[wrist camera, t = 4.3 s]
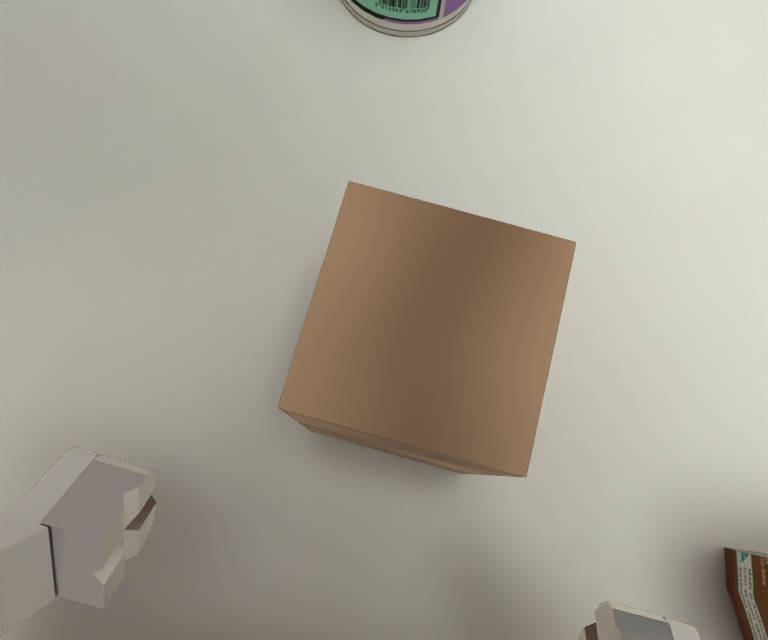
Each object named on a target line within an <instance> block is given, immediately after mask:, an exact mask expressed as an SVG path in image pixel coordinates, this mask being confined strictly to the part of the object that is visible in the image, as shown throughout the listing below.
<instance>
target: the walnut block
mask: <svg viewBox="0 0 768 640" xmlns="http://www.w3.org/2000/svg"><path fill="white" fill-rule="evenodd" d="M575 246H576V242H574V241H570V240H566V239H563V238H559V237H555V236H552V235H548V234H544V233H540V232H537V231H533V230H529V229H526V228H522V227H518V226H514V225H511V224H507V223H503V222H499V221H496V220H492V219H488V218H485V217H481V216H477V215H473V214H470V213H466V212H462V211H459V210H455V209H451V208H447V207H444V206H440V205H436V204H433V203H429V202H425V201H421V200H418V199H414V198H410V197H407V196H403V195H399V194H395V193H392V192H388V191H384V190H380V189H377V188H373V187H369V186H366V185H362V184H358V183H354V182H351V181H349V182H348V185H347V189H346V192H345V195H344V198H343V201H342V204H341V208H340V211H339V214H338V217H337V220H336V224H335V227H334V230H333V233H332V236H331V240H330V243H329V246H328V249H327V252H326V255H325V259H324V262H323V265H322V268H321V271H320V275H319V278H318V281H317V284H316V287H315V290H314V294H313V297H312V300H311V303H310V306H309V310H308V313H307V316H306V319H305V322H304V326H303V329H302V332H301V335H300V338H299V341H298V345H297V348H296V351H295V354H294V357H293V361H292V364H291V367H290V370H289V373H288V376H287V380H286V383H285V386H284V389H283V392H282V396H281V399H280V402H279V405H278V408H279V409H281V410H282V411H283V412H285V413H286V414H288V415H289V416H290V417H292V418H293V419H295V420H296V421H298V422H299V423H300V424H302V425H303V426H305V427H306V428H307V429H309V430H310V431H313V432H317V433H320V434H324V435H327V436H331V437H334V438H338V439H341V440H345V441H348V442H352V443H356V444H359V445H363V446H366V447H370V448H373V449H377V450H380V451H384V452H388V453H391V454H395V455H398V456H402V457H405V458H409V459H412V460H416V461H419V462H423V463H427V464H430V465H434V466H437V467H441V468H444V469H448V470H451V471H455V472H459V473H463V474H480V475H496V476H513V477H526V476H527V471H528V466H529V462H530V457H531V452H532V448H533V443H534V438H535V434H536V429H537V424H538V420H539V415H540V410H541V405H542V401H543V396H544V391H545V387H546V382H547V377H548V373H549V368H550V363H551V359H552V354H553V349H554V344H555V340H556V335H557V330H558V326H559V321H560V316H561V312H562V307H563V302H564V298H565V293H566V288H567V283H568V279H569V274H570V269H571V265H572V260H573V255H574V251H575Z"/></svg>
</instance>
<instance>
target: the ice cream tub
mask: <svg viewBox="0 0 768 640" xmlns="http://www.w3.org/2000/svg"><path fill="white" fill-rule="evenodd" d="M724 551H725V567H726V584H727V589H728V592H729V596H730V599H731V602H732V605H733V608H734V611H735V615H736V618H737V621H738V624H739V627H740V630H741V633H742V637H743V640H768V554H764V553H757V552H751V551H745V550H738V549H732V548H725V547H724Z"/></svg>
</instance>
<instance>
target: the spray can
mask: <svg viewBox="0 0 768 640" xmlns="http://www.w3.org/2000/svg"><path fill="white" fill-rule="evenodd" d="M342 1H343V2H344V4H345V6H346V7H347V8H348V9H349V11H350V12H351V13H352V14H353V15H354V16H355V17H356V18H357V19H359V20H360V21H361V22H362V23H364V24H365V25H367V26H369V27H371V28H373V29H375V30H377V31H380V32H383V33H386V34H389V35H396V36H402V37H409V36H421V35H426V34H431V33H434V32H436V31H439V30H441V29H444V28H445V27H447V26H448V25H450V24H452V23H453V22H455V21H456V20H457V19H458V18H459V17H460V16H461V15H462V14H463V13H464V12H465V10H466V9H467V7H468V6H469V4H470V2H471V0H342Z"/></svg>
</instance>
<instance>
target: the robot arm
mask: <svg viewBox="0 0 768 640" xmlns="http://www.w3.org/2000/svg"><path fill="white" fill-rule="evenodd" d="M156 486H157V472H154V471H151V470H148V469H145V468H142V467H139V466H136V465H132V464H129V463H126V462H123V461H120V460H117V459H114V458H110V457H107V456H104V455H101V454H97V453H94V452H91V451H88V450H84V449H81V448H78V447H73V448H71V449H70V450H68V451H66V452H65V453H64V454H63V455H62V456H61V457H60V458H59V459H58V461H57V462H56V463H55V464H54V465H53V466H52V467H51V468H50V469H49V471H48V472H47V473H46V474H45V475H44V476H43V477H42V478H41V480H40V481H39V482H38V483H37V484H36V485H35V486H34V487H33V489H32V490H31V491H30V492H29V493H28V494H27V495H26V496H25V497H24V499H23V500H22V501H21V502H20V503H19V504H18V505H17V506H16V508H15V509H14V510H13V511H12V512H11V513H10V514H9V515H6V514H2V513H0V636H2V635H3V634H5V633H6V632H8V631H9V630H11V629H12V628H14V627H15V626H17V625H18V624H20V623H21V622H23V621H24V620H26V619H27V618H29V617H30V616H32V615H33V614H35V613H36V612H38V611H39V610H41V609H42V608H44V607H45V606H47V605H48V604H50V603H51V602H53V601H54V600H55V599H56V597H60V598H63V599H67V600H71V601H75V602H78V603H82V604H86V605H90V606H94V607H97V608H101V609H105V607H106V606H107V604H108V603H109V601H110V599H111V598H112V596H113V594H114V593H115V591H116V590H117V588H118V586H119V585H120V583H121V582H122V580H123V578H124V577H125V561H127V560H129V559H130V558H132V557H134V556H136V555H138V554H139V552H140V550H141V549H142V547H143V545H144V544H145V542H146V540H147V538H148V535H149V533H150V531H151V528H152V526H153V523H154V518H155V514H156V501H155V500H154V499H153V497H152V496H151V494H152V492H153V491H154V489H155V488H156ZM55 596H56V597H55ZM595 619H596V623H594V624H591V625H589V626H586V627H584V629H583V631H582V632H581V634H580V636H579V637H578V640H700V637H699V634H698V632H697V630H696V629H695V627H694V626H692V625H689V624H686V623H682V622H679V621H675V620H672V619H668V618H665V617H661V616H660V615H657V614H653V613H649V612H646V611H642V610H638V609H635V608H631V607H627V606H624V605H620V604H616V603H613V602H609V601H605V602H603V603H601V604H600V605H599V607H598V608H597V610H596V611H595Z"/></svg>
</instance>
